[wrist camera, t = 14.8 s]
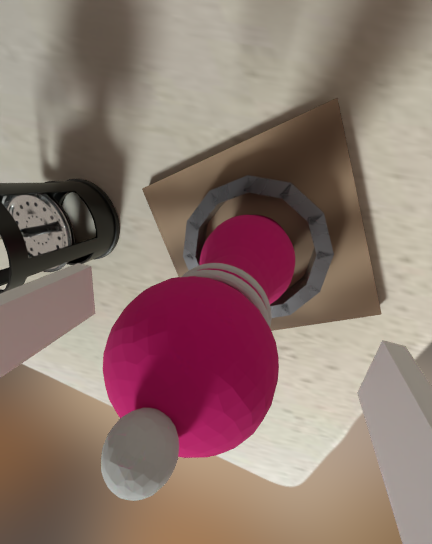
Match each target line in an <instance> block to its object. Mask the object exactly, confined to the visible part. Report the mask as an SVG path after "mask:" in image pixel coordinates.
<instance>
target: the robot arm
mask: <svg viewBox="0 0 432 544" xmlns="http://www.w3.org/2000/svg"><path fill="white" fill-rule="evenodd" d="M94 314H95V305H94V293H93V282H92V270H91V266H88V265H84V264H80V263H77V264H75V265H72V266H70V267H67V268H65V269H62V270H59V271H57V272H54V273H52V274H49V275H47V276H44V277H41V278H39V279H36V280H34V281H31V282H29V283H26V284H24V285H21V286H18V287H16V288H13V289H11V290H8V291H6V292H3V293H1V294H0V378H1V377H2V376H4V375H5V374H7V373H8V372H10V371H11V370H13V369H14V368H15V367H17V366H18V365H20V364H21V363H23V362H24V361H26V360H27V359H29V358H30V357H32V356H33V355H35V354H36V353H38V352H39V351H41V350H42V349H44V348H45V347H47V346H48V345H49V344H51V343H52V342H54V341H55V340H57V339H58V338H60V337H61V336H63V335H64V334H66V333H67V332H69V331H70V330H72V329H73V328H74V327H76V326H77V325H79V324H80V323H82V322H83V321H85V320H86V319H88V318H89V317H91V316H92V315H94ZM357 394H358V397H359V400H360V404H361V407H362V410H363V414H364V417H365V420H366V423H367V427H368V430H369V433H370V436H371V440H372V443H373V447H374V450H375V453H376V457H377V460H378V463H379V467H380V470H381V473H382V477H383V480H384V483H385V486H386V490H387V493H388V496H389V500H390V503H391V507H392V510H393V513H394V516H395V520H396V523H397V526H398V530H399V533H400V536H401V539H402V543H403V544H432V385H431V384H430V382H429V381H428V379H427V378H426V376H425V375H424V373H423V372H422V371H421V369H420V367H419V366H418V364H417V363H416V361H415V360H414V358H413V357H412V355H411V354H410V352H409V351H408V349H407V348H406V346H403V345H399V344H395V343H391V342H387V341H383V340H382V342H381V345H380V347H379V349H378V351H377V353H376V355H375V357H374V359H373V361H372V363H371V365H370V367H369V370H368V372H367V374H366V376H365V378H364V380H363V382H362V384H361V386H360V388H359V390H358V392H357Z"/></svg>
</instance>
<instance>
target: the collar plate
mask: <svg viewBox="0 0 432 544" xmlns="http://www.w3.org/2000/svg"><path fill="white" fill-rule="evenodd" d="M247 175H251V176H256V177H262V178H268V179H274V180H279V181H285V182H291V183H292V184H293V185H294V186H296V187H297V188H298V189H299V190H300V191H301V192H302V193H303V194H304V195H305V196H306V197H307V198H309V199H310V200H311V201H312V202H313V203H314V204H315V205H316V206H317V207H318V208H319V209H321V210H322V211H323V212H324V216H325V220H326V224H327V228H328V232H329V237H330V241H331V245H332V249H333V253H334V255H333V258H332V261H331V264H330V266H329V269H328V272H327V274H326V277H325V280H324V282H323V285H322V288H321V291H320V292H319V293H318V294H317V295H315V296H314V297H313V298H312V299H310V300H309V301H308V302H306V303H305V304H304V305H303V306H301V307H300V308H299V309H297V310H296V311H295V312H294V313H292V314H291V315H288V316H282V317H276V318H271V325H270V329H271V331H272V330H279V329H286V328H293V327H299V326H306V325H313V324H320V323H326V322H333V321H340V320H347V319H353V318H360V317H367V316H374V315H380V314H381V309H380V304H379V300H378V295H377V290H376V285H375V280H374V275H373V270H372V265H371V260H370V255H369V250H368V245H367V241H366V236H365V231H364V226H363V221H362V216H361V211H360V206H359V201H358V196H357V191H356V186H355V182H354V177H353V172H352V167H351V162H350V157H349V152H348V147H347V142H346V137H345V132H344V128H343V123H342V118H341V113H340V108H339V103H338V98H336V99H333V100H331V101H329V102H327V103H325V104H323V105H321V106H318V107H316V108H314V109H312V110H310V111H308V112H306V113H303V114H301V115H299V116H297V117H295V118H293V119H291V120H288V121H286V122H284V123H282V124H280V125H278V126H276V127H273V128H271V129H269V130H267V131H265V132H263V133H260V134H258V135H256V136H254V137H252V138H250V139H248V140H245V141H243V142H241V143H239V144H237V145H235V146H233V147H230V148H228V149H226V150H224V151H222V152H220V153H218V154H215V155H213V156H211V157H209V158H207V159H205V160H203V161H200V162H198V163H196V164H194V165H192V166H190V167H188V168H185V169H183V170H181V171H179V172H177V173H175V174H173V175H170V176H168V177H166V178H164V179H162V180H160V181H158V182H155V183H153V184H151V185H149V186H147V187H145V188H143V189H142V190H143V192H144V195H145V197H146V199H147V202H148V204H149V207H150V209H151V211H152V214H153V216H154V219H155V221H156V223H157V226H158V228H159V231H160V233H161V235H162V238H163V240H164V243H165V245H166V247H167V250H168V252H169V255H170V257H171V259H172V262H173V264H174V267H175V269H176V271H177V274H178V276H179V277H182V276H183V275H184V274H185V273H186V272H187V271H189V270H188V268H187V265H186V263H185V260H184V258H183V251H184V242H185V233H186V224H187V220H188V219H189V218H190V216H191V215H192V214H193V212H194V211H195V210H196V208H197V207H198V205H199V204H200V203H201V201H202V200H203V199H204V197H205V196H206V195H207V193H208V192H209V191H210V190H213V189H215V188H218V187H220V186H223V185H225V184H227V183H230V182H232V181H235V180H237V179H240V178H242V177H245V176H247ZM240 215H263V216H266V217H269V218H271V219H273V220H274V221H276V222H277V223H278V224H279V225H280V226H281V227H282V228H283V229H284V231H285V233H286V234H287V236H288V237H289V239H290V241H291V243H292V245H293V248H294V251H295V269H294V274H293V277H292V280H291V283H290V285H289V286H288V288H289V287H291V286H292V285H293V284H294V283H295V282H297V281H298V280H299V279H300V278H301V277H302V276H304V275H305V273H306V270H307V267H308V264H309V261H310V258H311V255H312V252H313V249H314V244H313V241H312V237H311V233H310V229H309V225H308V222H307V221H306V220H305V219H304V218H303V217H302V216H301V215H300V214H299V213H297V212H296V211H295V210H294V209H293V208H292V207H291V206H290V205H289V204H288V203H287V202H285V201H284V200H283V199H281V198H276V197H271V196H265V195H260V194H255V193H246V194H244V195H241V196H238V197H236V198H233V199H230V200H228V201H225V202H224V204H223V205H222V206H221V207H220V209H219V210H218V211H217V212H216V214H215V215H214V216H213V217H212V219H211V220H210V221H209V223H208V226H207V233H206V239H207V238H208V236H209V235H210V234H211V233H212V232H213V231H214V229H215V228H216V227H217V226H218V225H220V224H221V223H223V222H224V221H226V220H228V219H230V218H232V217H236V216H240ZM205 241H206V240H205ZM288 288H287V289H288Z"/></svg>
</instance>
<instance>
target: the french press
mask: <svg viewBox="0 0 432 544" xmlns="http://www.w3.org/2000/svg"><path fill="white" fill-rule="evenodd" d="M70 192H75V193H76V194H77V195H78V196H79V197H80V198H81V199H82V200H83V201H84V203H85V204H86V205H87V207H88V209H89V211H90V213H91V215H92V218H93V220H94V224H95V229H96V238H93V239H90V240H86V241H83V242H80V243H75V239H74V233H73V229H72V226H71V223H70V221H69V218H68V216H67V215H66V213H65V211H64V209H63V208H62V207H61V203H62V201H63V199H64V197H65V196H66V195H67V194H69V193H70ZM118 238H119V221H118V216H117V213H116V210H115V208H114V206H113V204H112V202H111V200H110V199H109V198H108V196H107V195H106V194H105V193H104V192H103V191H102V190H101V189H100V188H99V187H98V186H96V185H95V184H93V183H91V182H89V181H86V180H82V179H69V180H67V181H48V182H45V183H0V240H3V242H4V245H5V248H6V251H7V254H8V259H9V266H10V267H9V268H6V269H3V270H0V286H1V285H4V284H7V283H8V284H7V286H6V288H5V289H4V290H0V294H1V293H3V292H6V291H8V290H11V289H13V288H16V287H18V286H21V285H23V284H24V282H25V280H26V278H27V277H28V276H31V275H34V274H36V273H39V272H42V271H44V272H54V271H58V270H60V269H61V268H62V267H64V266H65V265H66V264H69V265H75V264H77V263H80V264H83V263H85V262H88V261H90V260H93V259H100V258H103V257H105V256H107V255H108V254H109V253H111V252H112V251H113V249H114V248H115V246H116V244H117V241H118Z"/></svg>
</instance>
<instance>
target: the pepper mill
mask: <svg viewBox="0 0 432 544" xmlns="http://www.w3.org/2000/svg"><path fill="white" fill-rule="evenodd" d="M199 264H200V265H199V266H197V267H194V268H192V269H191V270H189V271H187V272H186V273H185V274H184V275H183V276H182V277H177V278H171V279H168V280H166V281H163V282H161V283H159V284H156V285H154V286H152V287H150V288H148V289H146V290H145V291H143V292H142V293H141V294H139V295H138V296H137V297H136V298H135V299H134V300H133V301H132V302H130V304H129V305H128V306H127V307H126V308H125V309H124V310H123V312H122V313H121V315H120V316H119V318H118V319H117V321H116V322H115V324H114V325H113V327H112V329H111V332H110V334H109V337H108V340H107V344H106V347H105V351H104V357H103V374H104V381H105V386H106V390H107V394H108V397H109V400H110V402H111V403H112V405H113V407H114V409H115V411H116V412H117V414H118V415H119V417H120V420H119V421H118V422H117V423H116V424H115V425H114V427H113V428H112V429H111V431H110V432H109V434H108V436H107V438H106V441H105V443H104V446H103V449H102V458H101V471H102V475H103V478H104V480H105V482H106V484H107V486H108V488H109V489H110V490H111V491H112V492H113V493H114V494H115V495H117V496H118V497H119V498H122V499H126V500H134V501H135V500H141V499H144V498H147V497H149V496H152V495H154V493H156V492H157V491H158V490H159V489H160V488H161V487H162V486H163V485H164V484H165V483H166V482H167V481H168V479H169V478H170V476H171V474H172V472H173V470H174V468H175V466H176V463H177V460H178V457H184V458H188V457H189V458H190V457H191V458H192V457H210V456H215V455H218V454H221V453H224V452H226V451H229V450H231V449H234V448H235V447H237V446H238V445H239V444H241V443H242V442H243V441H245V440H246V439H247V438H248V437H250V436H251V435H252V434H253V433H254V432H255V431H256V429H257V428H258V426H259V425H260V424H261V422H262V421H263V419H264V417H265V415H266V414H267V412H268V410H269V408H270V406H271V404H272V400H273V396H274V392H275V389H276V385H277V381H278V370H279V364H278V353H277V347H276V342H275V339H274V337H273V334H272V332H271V329H270V325H271V318H272V315H271V307H270V304H272V303H273V302H274V301H276V300H277V299H278V298H279V297H280V296H281V295H282V294H283V293H284V292H285V291H286V290H287V288H288V286H289V285H290V283H291V280H292V277H293V274H294V269H295V251H294V248H293V245H292V243H291V241H290V239H289V237H288V236H287V234H286V233H285V231H284V229H283V228H282V227H281V226H280V225H279V224H278V223H277V222H276V221H274V220H273V219H271V218H269V217H266V216H263V215H240V216H236V217H232V218H230V219H228V220H226V221H224V222H223V223H221V224H220V225H218V226H217V227H216V228H215V229H214V231H213V232H212V233H211V234H210V235H209V236H208V238H207V239H206V241H205V243H204V246H203V248H202V252H201V255H200V262H199Z"/></svg>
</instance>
